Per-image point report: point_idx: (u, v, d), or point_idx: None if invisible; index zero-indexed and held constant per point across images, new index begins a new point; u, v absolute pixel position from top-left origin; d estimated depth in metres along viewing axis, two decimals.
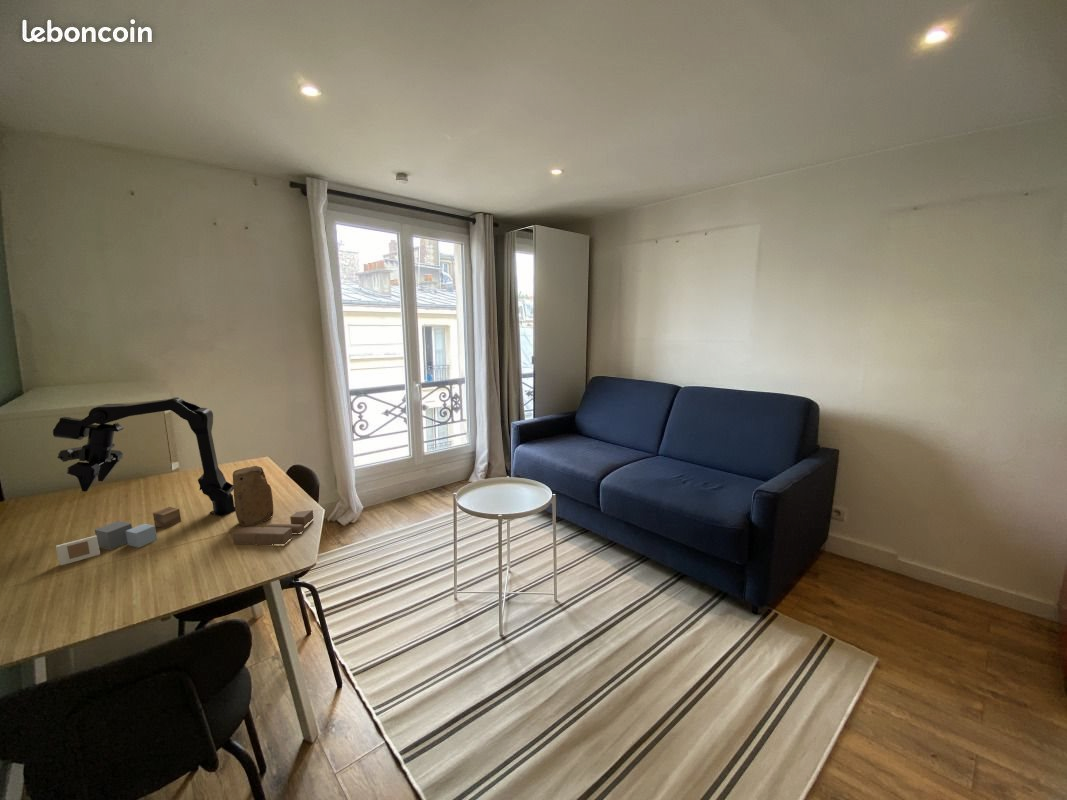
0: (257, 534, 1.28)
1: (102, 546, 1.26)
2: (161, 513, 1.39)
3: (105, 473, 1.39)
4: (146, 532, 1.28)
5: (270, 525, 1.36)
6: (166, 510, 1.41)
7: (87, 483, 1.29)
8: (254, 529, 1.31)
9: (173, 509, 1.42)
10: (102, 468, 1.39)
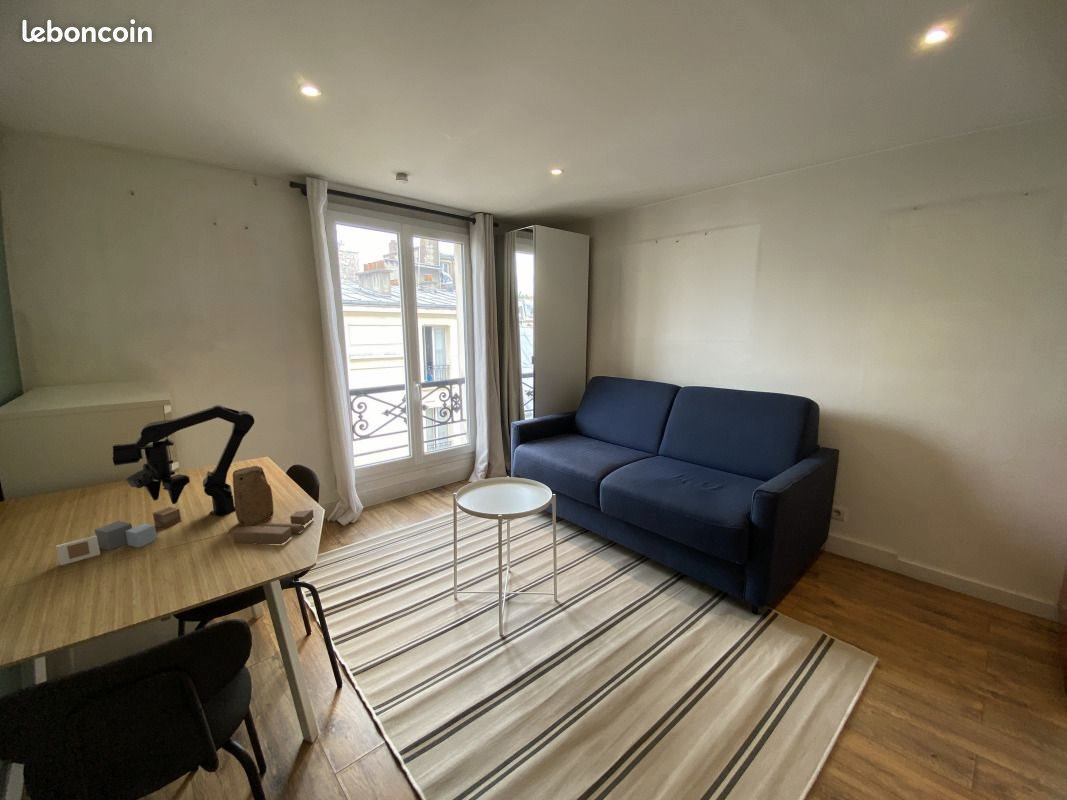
0: (256, 533, 1.29)
1: (102, 546, 1.26)
2: (160, 513, 1.39)
3: (157, 491, 1.42)
4: (146, 532, 1.28)
5: (270, 524, 1.36)
6: (166, 510, 1.41)
7: (178, 494, 1.39)
8: (254, 528, 1.31)
9: (173, 509, 1.42)
10: (152, 488, 1.40)
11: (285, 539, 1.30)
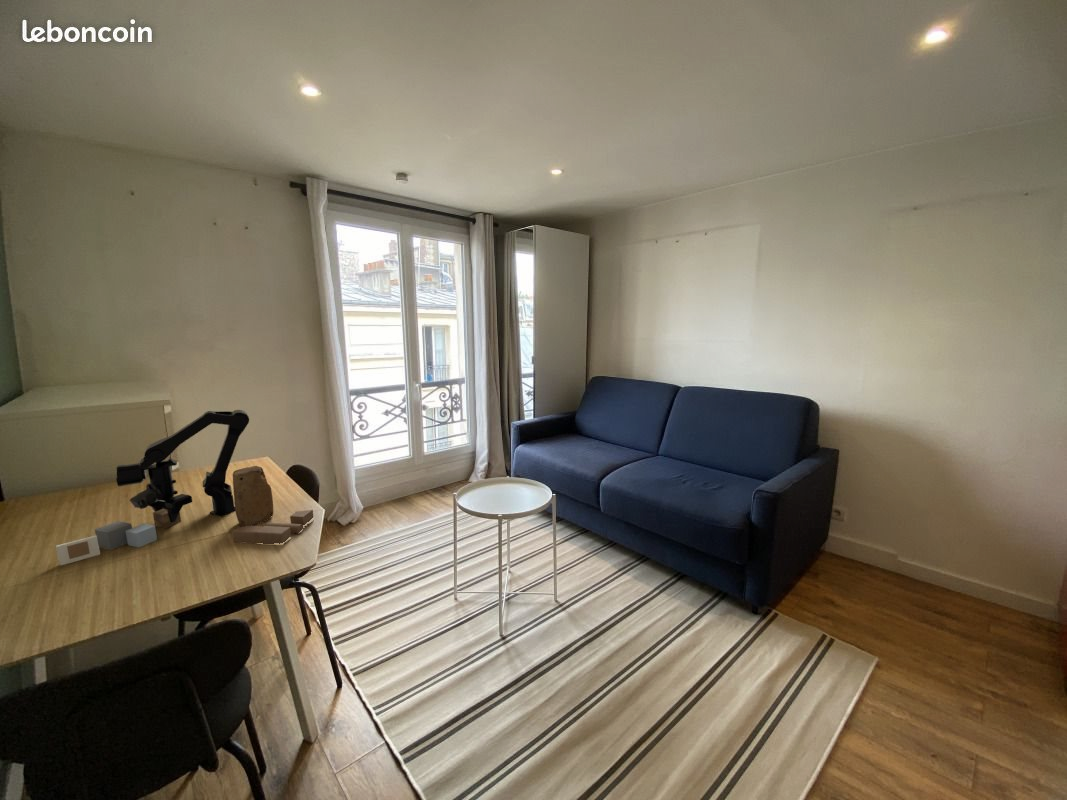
0: (256, 533, 1.29)
1: (102, 546, 1.26)
2: (160, 513, 1.39)
3: None
4: (146, 532, 1.28)
5: (270, 524, 1.36)
6: (166, 510, 1.41)
7: (176, 513, 1.40)
8: (254, 528, 1.32)
9: None
10: (159, 508, 1.41)
11: (284, 539, 1.30)
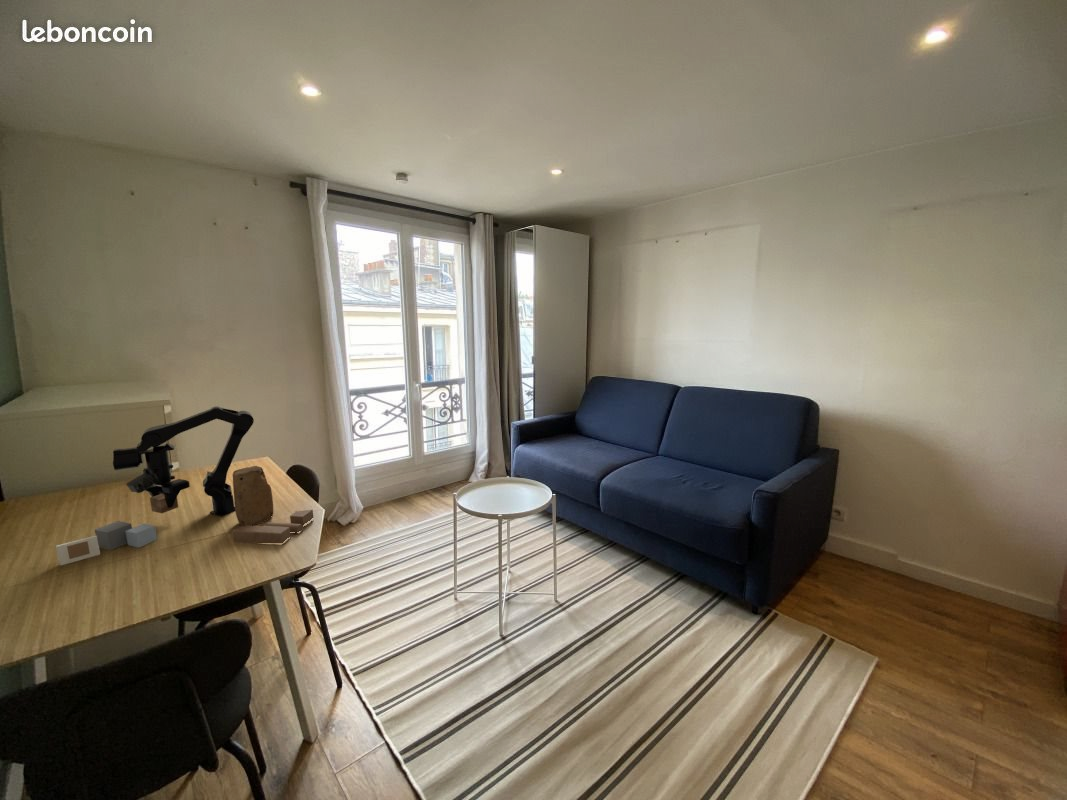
0: (256, 533, 1.29)
1: (102, 546, 1.26)
2: (157, 498, 1.37)
3: None
4: (146, 532, 1.28)
5: (270, 524, 1.37)
6: (163, 495, 1.40)
7: (173, 498, 1.39)
8: (253, 527, 1.32)
9: None
10: (156, 493, 1.40)
11: (284, 539, 1.30)
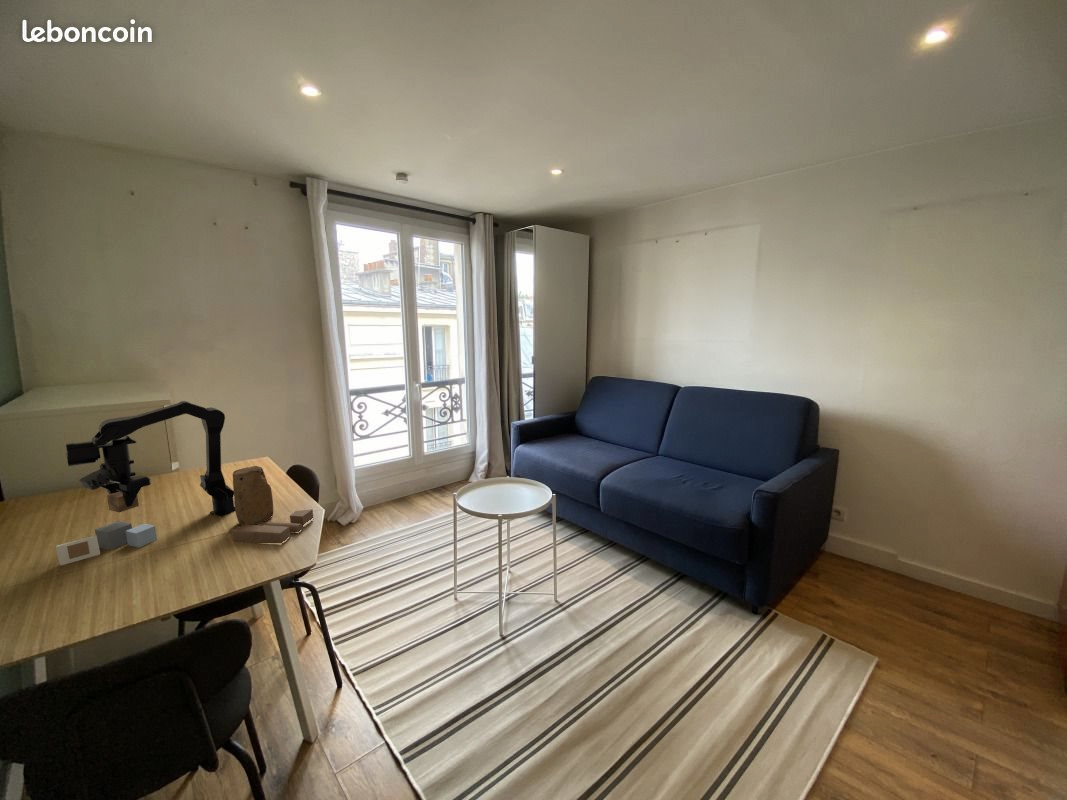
0: (255, 532, 1.29)
1: (102, 546, 1.26)
2: (115, 495, 1.27)
3: None
4: (146, 532, 1.28)
5: (270, 523, 1.37)
6: None
7: (133, 496, 1.29)
8: (253, 527, 1.32)
9: None
10: (115, 490, 1.30)
11: (283, 538, 1.30)
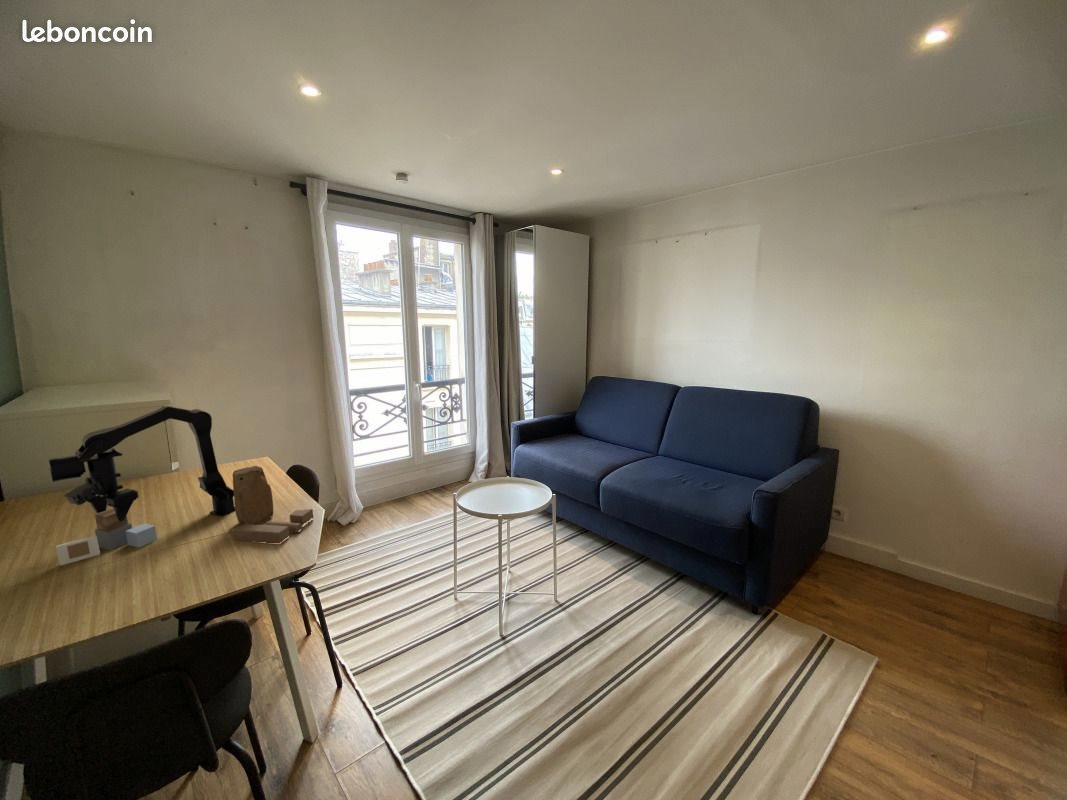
0: (255, 532, 1.30)
1: (102, 546, 1.26)
2: (103, 514, 1.24)
3: (104, 507, 1.28)
4: (146, 532, 1.28)
5: (269, 523, 1.37)
6: (110, 511, 1.27)
7: (125, 511, 1.26)
8: (253, 526, 1.33)
9: None
10: (98, 503, 1.27)
11: (282, 538, 1.30)
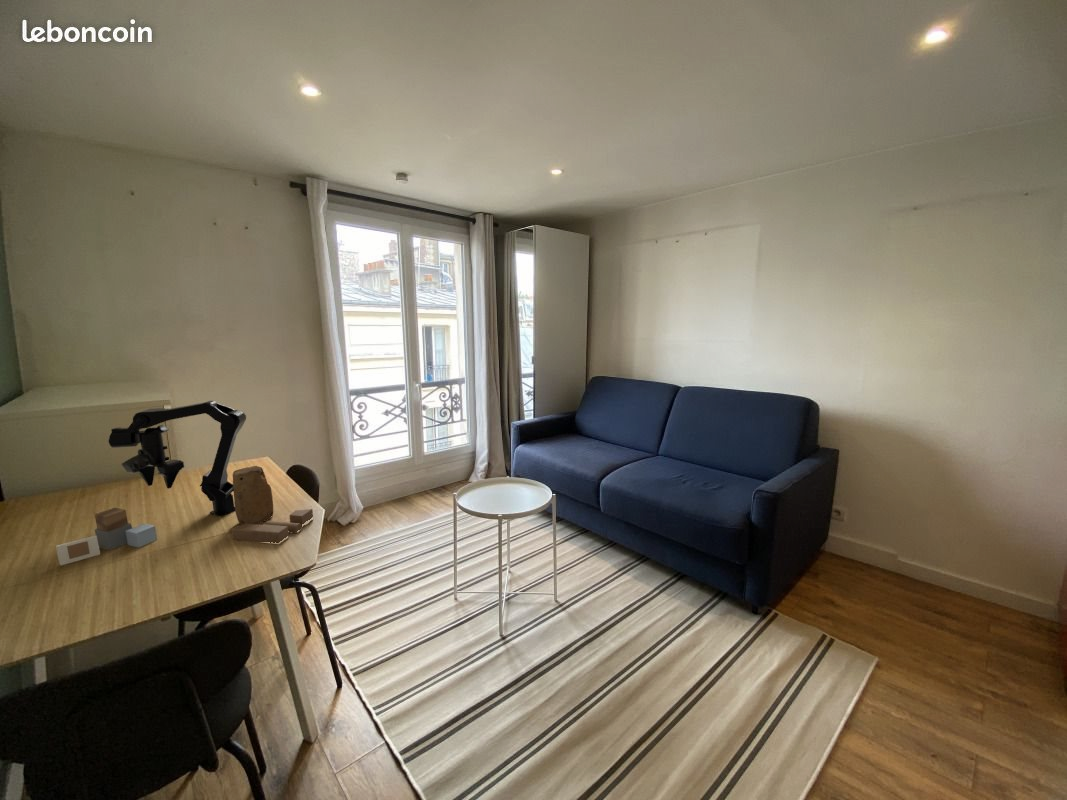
0: (254, 531, 1.30)
1: (102, 546, 1.26)
2: (103, 514, 1.24)
3: (151, 476, 1.45)
4: (146, 532, 1.28)
5: (269, 523, 1.37)
6: (110, 511, 1.27)
7: (172, 479, 1.42)
8: (253, 526, 1.33)
9: (118, 510, 1.27)
10: (147, 473, 1.44)
11: (281, 538, 1.31)
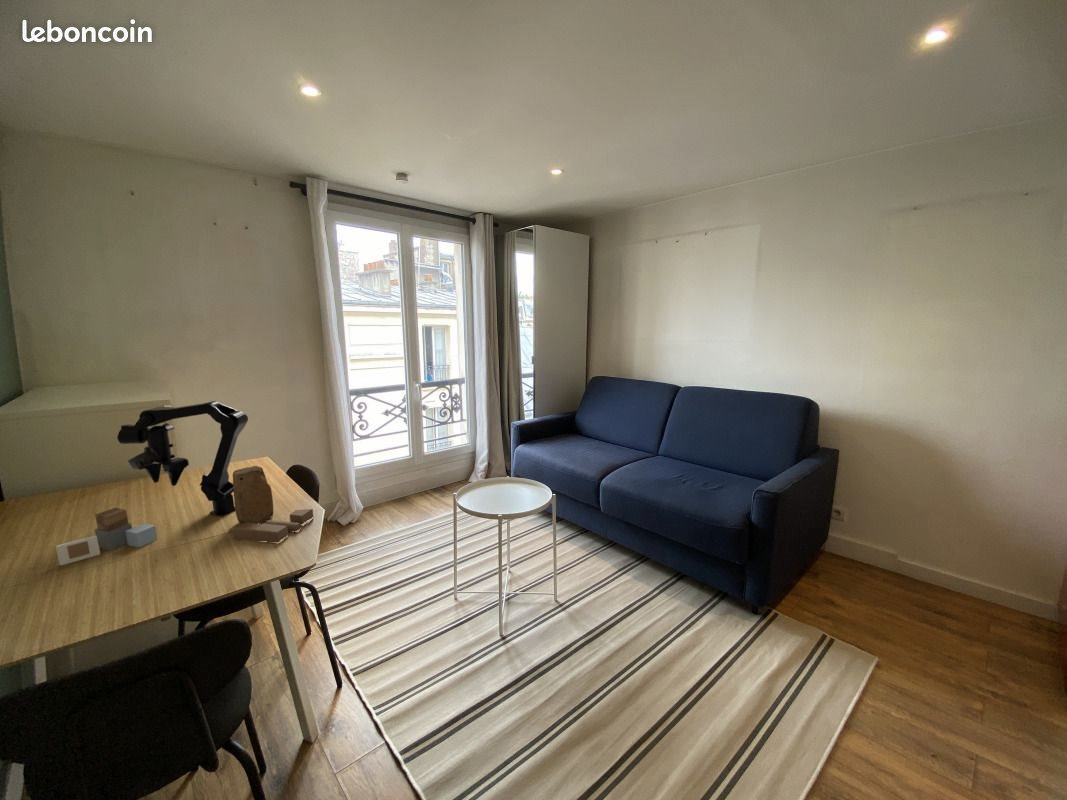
0: (254, 530, 1.30)
1: (102, 546, 1.26)
2: (104, 514, 1.24)
3: (157, 474, 1.47)
4: (146, 532, 1.28)
5: (269, 522, 1.38)
6: (111, 511, 1.27)
7: (177, 476, 1.44)
8: (253, 525, 1.33)
9: (119, 510, 1.27)
10: (153, 470, 1.46)
11: (281, 537, 1.31)
